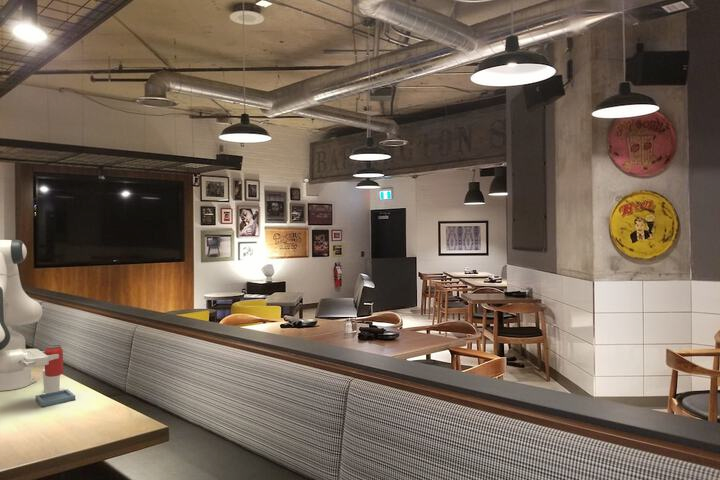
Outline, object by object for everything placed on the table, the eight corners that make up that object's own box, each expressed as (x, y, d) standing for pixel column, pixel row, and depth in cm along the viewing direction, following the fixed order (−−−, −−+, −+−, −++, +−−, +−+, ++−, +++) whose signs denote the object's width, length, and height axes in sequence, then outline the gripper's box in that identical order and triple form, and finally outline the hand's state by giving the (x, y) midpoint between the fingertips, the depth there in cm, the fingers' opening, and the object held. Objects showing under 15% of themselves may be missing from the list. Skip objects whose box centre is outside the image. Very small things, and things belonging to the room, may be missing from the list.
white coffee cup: (64, 389, 230) (63, 367, 230) (51, 394, 224) (50, 371, 224) (52, 388, 232) (51, 366, 232) (39, 393, 226) (38, 370, 226)
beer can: (54, 377, 212) (54, 348, 211) (41, 376, 213) (40, 347, 213) (67, 373, 218) (66, 344, 218) (53, 372, 219) (52, 344, 219)
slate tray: (35, 400, 216) (35, 395, 216) (67, 393, 224) (67, 389, 224) (42, 407, 207) (42, 402, 207) (75, 400, 216) (75, 395, 216)
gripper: (21, 356, 199) (62, 350, 208) (11, 348, 214) (49, 343, 223) (22, 373, 199) (62, 366, 208) (12, 363, 214) (50, 357, 223)
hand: (56, 354), depth 216 cm, fingers closed on beer can, 7 cm apart
